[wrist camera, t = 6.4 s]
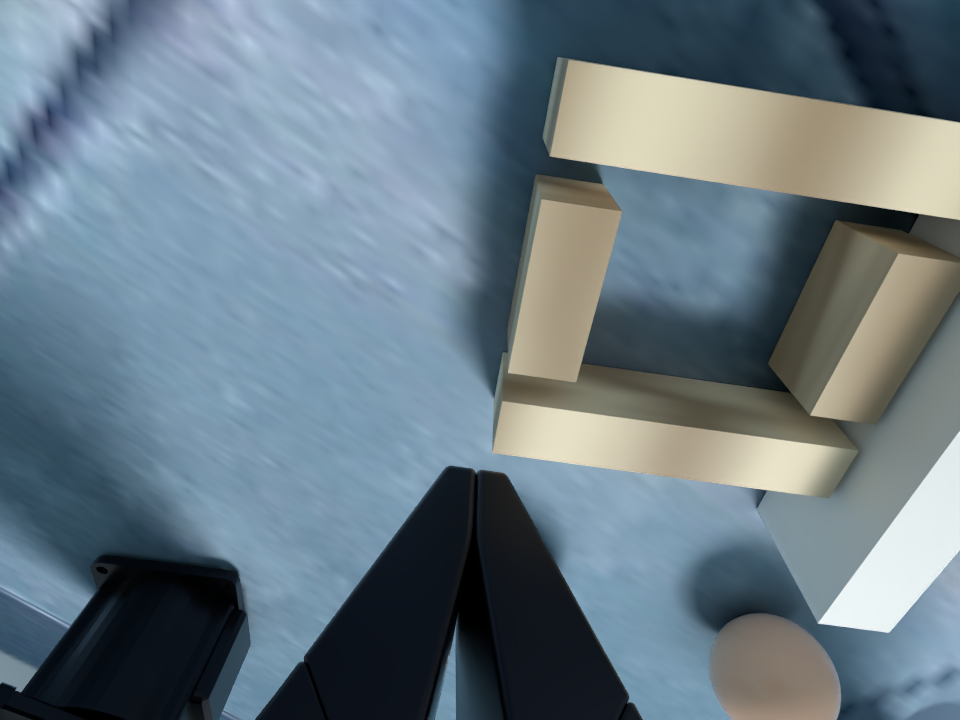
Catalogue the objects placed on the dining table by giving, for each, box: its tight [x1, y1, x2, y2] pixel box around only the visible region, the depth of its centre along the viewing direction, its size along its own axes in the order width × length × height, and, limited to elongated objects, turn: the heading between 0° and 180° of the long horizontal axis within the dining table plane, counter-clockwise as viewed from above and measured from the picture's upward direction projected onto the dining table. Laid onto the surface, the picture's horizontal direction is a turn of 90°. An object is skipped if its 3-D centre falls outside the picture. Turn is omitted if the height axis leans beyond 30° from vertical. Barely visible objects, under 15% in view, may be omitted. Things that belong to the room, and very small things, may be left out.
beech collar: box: [492, 57, 960, 498], centre depth 16 cm, size 11×11×3 cm
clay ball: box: [709, 613, 841, 720], centre depth 23 cm, size 5×5×5 cm
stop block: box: [757, 214, 960, 633], centre depth 15 cm, size 2×18×5 cm, turn 172°
